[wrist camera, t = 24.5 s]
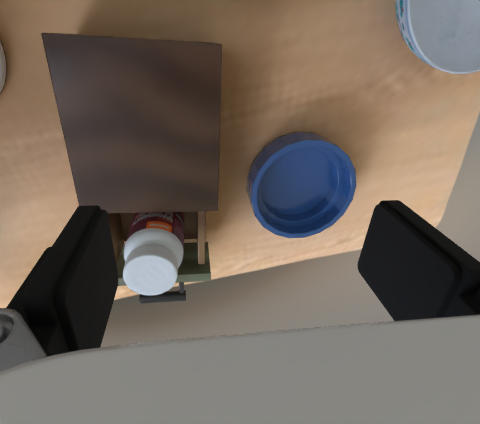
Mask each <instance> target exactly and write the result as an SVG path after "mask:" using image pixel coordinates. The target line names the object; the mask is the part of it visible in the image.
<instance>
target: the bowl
mask: <svg viewBox="0 0 480 424" xmlns="http://www.w3.org/2000/svg"><path fill="white" fill-rule="evenodd" d="M355 188H356V175H355V168H354V166H353V164H352V162H351V160H350V158H349V156H348V155H347V154H346V153H345V152H344V151H343V150H341V149H340V148H339V147H338V146H337V145H336V144H334V143H333V142H331V141H330V140H329V139H327V138H325V137H323V136H320V135H317V134H315V133H312V132H295V133H291V134H288V135H285V136H281V137H279V138H277V139H276V140H274V141H273V142H271V143H270V144H268V145H267V146H265V147H264V148H263V150H262V151H261V152H260V153H259V154H258V156H257V157H256V158H255V159H254V161H253V163H252V166H251V168H250V170H249V173H248V177H247V193H248V197H249V200H250V204H251V206H252V209H253V212H254V214H255V216H256V218H257V219H258V220H259V222H260V223H261V224H262V226H263V227H265V228H266V229H268V230H269V231H271V232H272V233H274V234H276V235H279V236H283V237H287V238H304V237H307V236H311V235H314V234H317V233H320V232H322V231H323V230H325V229H327V228H328V227H330V226H332V225H333V224H334V223H335V222H336V221H337V220H338V219H339V218H340V217H341V216H342V215H343V214H344V213H345V211H346V210H347V208H348V206H349V205H350V203H351V201H352V200H353V196H354V192H355Z"/></svg>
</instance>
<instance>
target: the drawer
mask: <svg viewBox="0 0 480 424" xmlns="http://www.w3.org/2000/svg"><path fill="white" fill-rule="evenodd" d="M183 214H184V239H197V242H192V243H184V254H183V259H182V262H181V264H180V266H179V268H178V275H177V280H176V282H175V283H177V282H179V290H178V291H166V292H164V293H162V294H158V295H142V294H140V299H139V300H140V303H156V302H171V301H185V300H186V291H185V290H184V282H195V281H210V280H211V272H210V261H209V251H208V242H205V211H201V212H183ZM134 215H135V213H108V219H109V225H110V230H111V236H112V242H113V248H114V253H115V259H116V265H117V271H118V286H122V285H126V284H125V282H124V279H123V269H124V266H125V259H124V247H125V245H123V244H124V241H126V240H127V237H128V234H129V231H130V227H131V224H132V221H133V218H134Z"/></svg>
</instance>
